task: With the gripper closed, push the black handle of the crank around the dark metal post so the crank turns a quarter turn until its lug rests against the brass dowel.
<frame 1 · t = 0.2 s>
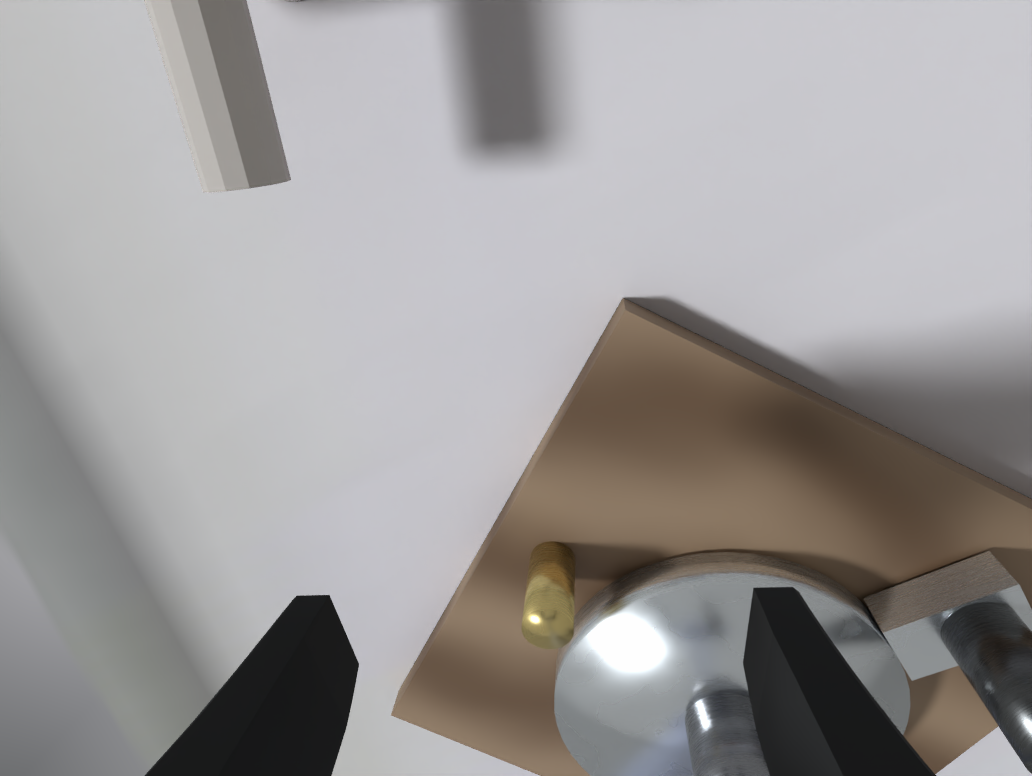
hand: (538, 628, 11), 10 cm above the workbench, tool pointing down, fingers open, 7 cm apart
dowel: (550, 592, 20), on the base board, point 3 cm above the workbench
base board: (709, 649, 24), on the workbench
crank: (789, 731, 20), point 4 cm above the workbench, hinge at 0.0°
post: (736, 766, 20), point 5 cm above the workbench
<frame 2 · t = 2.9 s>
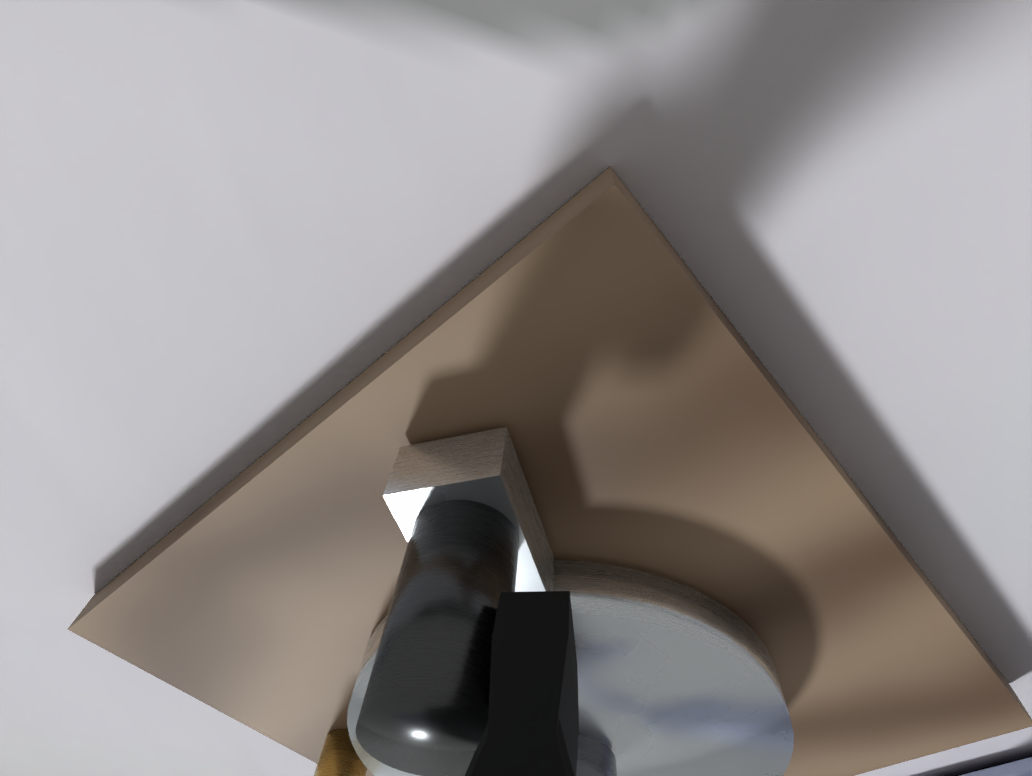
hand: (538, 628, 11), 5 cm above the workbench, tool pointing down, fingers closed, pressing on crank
base board: (564, 655, 19), on the workbench
crank: (544, 763, 15), point 4 cm above the workbench, hinge at 4.6°, touching gripper
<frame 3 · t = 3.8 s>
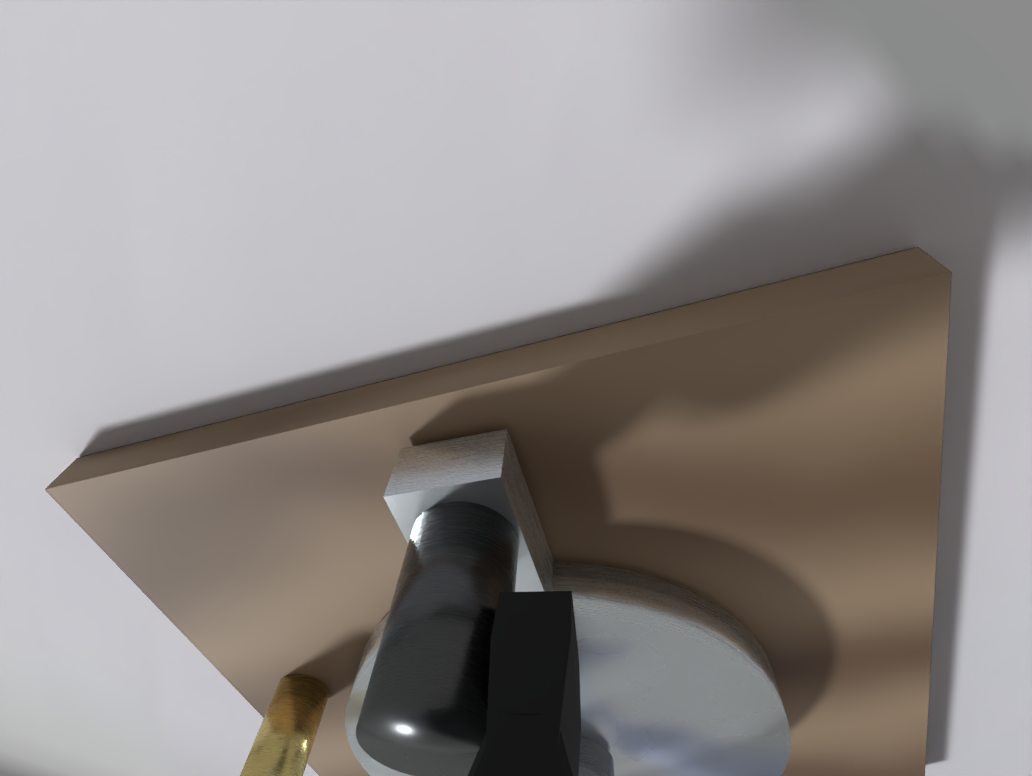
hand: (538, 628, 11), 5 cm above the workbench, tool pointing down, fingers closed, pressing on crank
dowel: (284, 741, 18), on the base board, point 3 cm above the workbench
base board: (562, 657, 19), on the workbench
crank: (542, 765, 15), point 4 cm above the workbench, hinge at 27.7°, touching gripper
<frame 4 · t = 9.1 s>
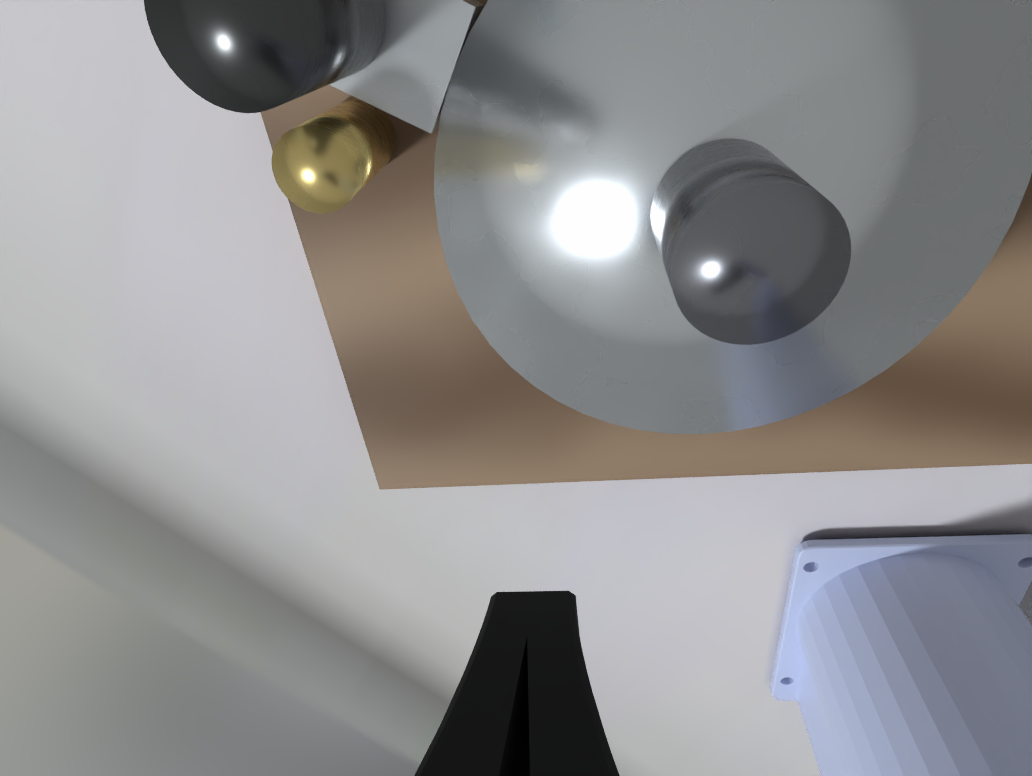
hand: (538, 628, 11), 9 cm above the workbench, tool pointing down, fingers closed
dowel: (340, 152, 13), on the base board, point 3 cm above the workbench
base board: (693, 171, 15), on the workbench
crank: (639, 181, 12), point 4 cm above the workbench, hinge at 89.1°
post: (737, 236, 11), point 5 cm above the workbench
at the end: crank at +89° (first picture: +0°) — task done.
